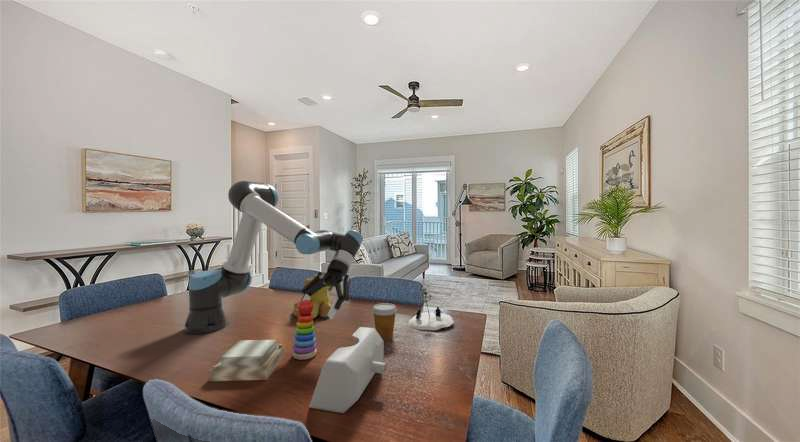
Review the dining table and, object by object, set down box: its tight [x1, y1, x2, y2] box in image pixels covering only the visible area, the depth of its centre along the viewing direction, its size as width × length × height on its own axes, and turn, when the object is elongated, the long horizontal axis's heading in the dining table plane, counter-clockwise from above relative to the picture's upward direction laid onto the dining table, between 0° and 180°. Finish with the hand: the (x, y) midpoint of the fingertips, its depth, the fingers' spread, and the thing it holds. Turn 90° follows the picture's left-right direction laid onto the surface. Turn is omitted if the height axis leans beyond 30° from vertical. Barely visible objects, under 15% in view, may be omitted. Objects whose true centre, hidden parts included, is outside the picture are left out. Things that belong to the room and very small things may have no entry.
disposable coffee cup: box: [371, 302, 398, 341], centre depth 120 cm, size 10×10×12 cm
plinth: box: [209, 339, 286, 382], centre depth 97 cm, size 16×16×6 cm
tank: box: [308, 326, 387, 414], centre depth 86 cm, size 25×16×12 cm, turn 166°
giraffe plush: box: [292, 271, 334, 321], centre depth 150 cm, size 20×24×19 cm
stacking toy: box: [291, 300, 318, 361], centre depth 105 cm, size 8×8×19 cm
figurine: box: [408, 287, 454, 331], centre depth 135 cm, size 20×18×16 cm
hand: (314, 314), depth 107 cm, fingers open, 13 cm apart
